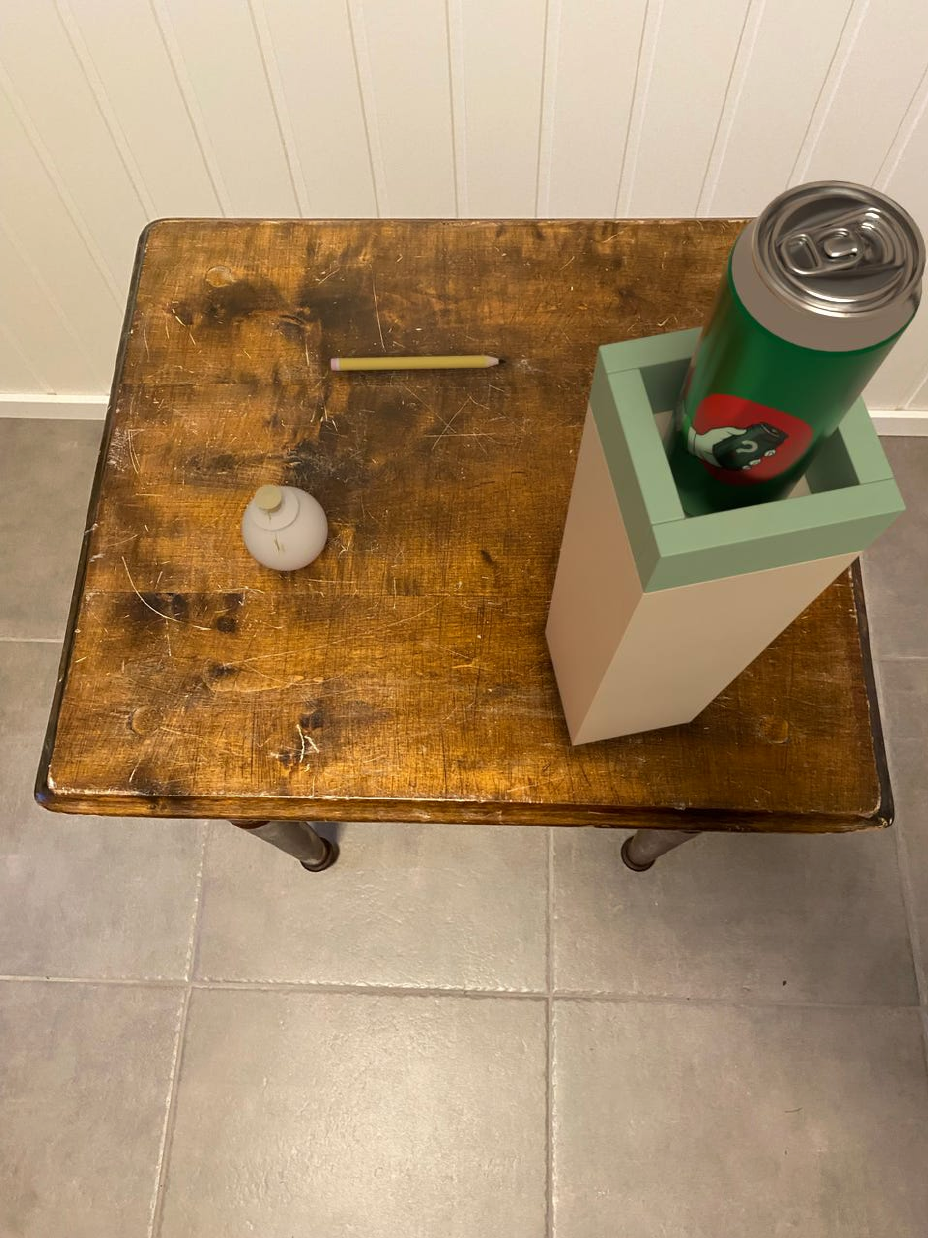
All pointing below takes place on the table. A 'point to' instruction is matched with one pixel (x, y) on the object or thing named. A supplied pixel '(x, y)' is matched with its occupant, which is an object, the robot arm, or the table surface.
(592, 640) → the holder
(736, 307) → the soda can
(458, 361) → the pencil
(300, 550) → the ornament
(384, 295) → the table surface
